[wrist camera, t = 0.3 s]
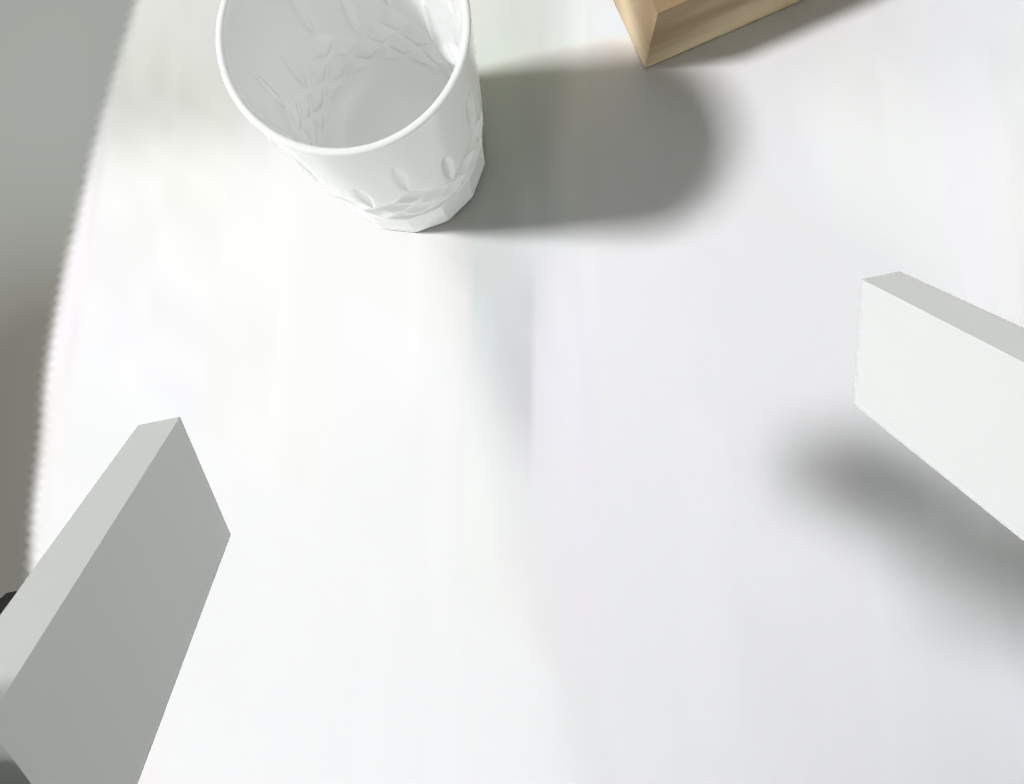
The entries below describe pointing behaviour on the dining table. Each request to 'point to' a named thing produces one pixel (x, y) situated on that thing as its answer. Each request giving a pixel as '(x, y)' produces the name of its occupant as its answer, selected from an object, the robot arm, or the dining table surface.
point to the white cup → (364, 98)
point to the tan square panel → (686, 22)
